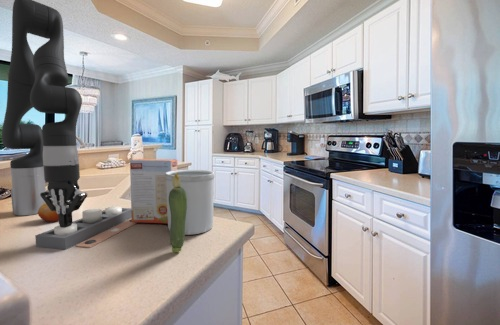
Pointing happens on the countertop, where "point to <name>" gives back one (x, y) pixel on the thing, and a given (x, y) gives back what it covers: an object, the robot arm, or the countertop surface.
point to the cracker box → (150, 189)
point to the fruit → (47, 214)
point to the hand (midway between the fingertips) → (66, 226)
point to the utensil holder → (195, 199)
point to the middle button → (92, 215)
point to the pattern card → (106, 234)
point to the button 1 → (65, 229)
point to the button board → (81, 231)
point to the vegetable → (177, 214)
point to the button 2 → (113, 210)
